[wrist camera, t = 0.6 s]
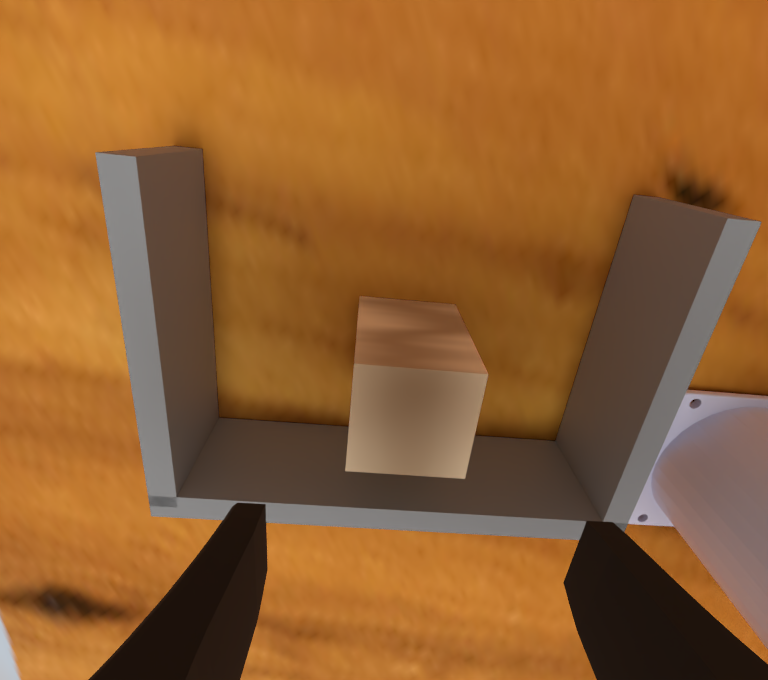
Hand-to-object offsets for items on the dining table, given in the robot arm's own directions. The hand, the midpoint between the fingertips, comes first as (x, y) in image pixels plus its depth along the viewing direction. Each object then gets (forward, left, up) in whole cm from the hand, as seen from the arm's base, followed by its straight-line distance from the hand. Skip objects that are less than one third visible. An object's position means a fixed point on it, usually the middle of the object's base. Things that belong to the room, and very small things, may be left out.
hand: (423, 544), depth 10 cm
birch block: (0, 0, -10) cm, 10 cm away
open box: (0, -1, -10) cm, 10 cm away
